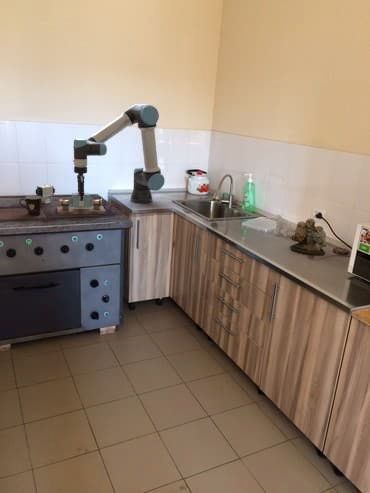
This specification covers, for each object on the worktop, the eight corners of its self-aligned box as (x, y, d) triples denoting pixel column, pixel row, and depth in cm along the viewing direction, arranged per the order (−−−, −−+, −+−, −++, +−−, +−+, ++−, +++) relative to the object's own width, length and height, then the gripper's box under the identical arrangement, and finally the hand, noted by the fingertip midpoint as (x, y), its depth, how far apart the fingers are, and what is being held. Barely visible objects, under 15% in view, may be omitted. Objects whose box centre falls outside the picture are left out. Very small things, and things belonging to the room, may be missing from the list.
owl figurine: (288, 253, 209) (293, 219, 204) (287, 246, 220) (292, 214, 215) (326, 257, 206) (332, 223, 200) (323, 250, 217) (329, 218, 211)
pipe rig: (101, 207, 262) (101, 198, 260) (102, 209, 258) (102, 199, 256) (59, 208, 254) (59, 198, 252) (60, 210, 250) (59, 200, 248)
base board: (102, 208, 267) (102, 206, 267) (105, 213, 256) (105, 211, 255) (56, 209, 258) (56, 206, 257) (57, 214, 246) (57, 212, 246)
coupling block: (89, 205, 260) (89, 192, 257) (90, 207, 255) (90, 194, 253) (71, 206, 256) (71, 193, 254) (72, 208, 252) (71, 194, 249)
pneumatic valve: (55, 202, 274) (55, 184, 270) (40, 205, 265) (39, 186, 261) (50, 200, 277) (49, 182, 273) (34, 203, 267) (34, 184, 264)
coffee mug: (45, 214, 246) (44, 197, 242) (34, 217, 238) (33, 199, 235) (30, 210, 250) (29, 194, 247) (18, 213, 242) (17, 196, 239)
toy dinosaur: (263, 228, 244) (268, 210, 240) (305, 240, 236) (310, 221, 232) (260, 231, 238) (265, 212, 235) (302, 243, 230) (308, 224, 226)
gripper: (72, 163, 255) (73, 201, 262) (75, 168, 239) (76, 208, 246) (85, 163, 257) (85, 201, 265) (88, 168, 241) (89, 208, 249)
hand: (81, 204), depth 255 cm, fingers closed on coupling block, 5 cm apart
